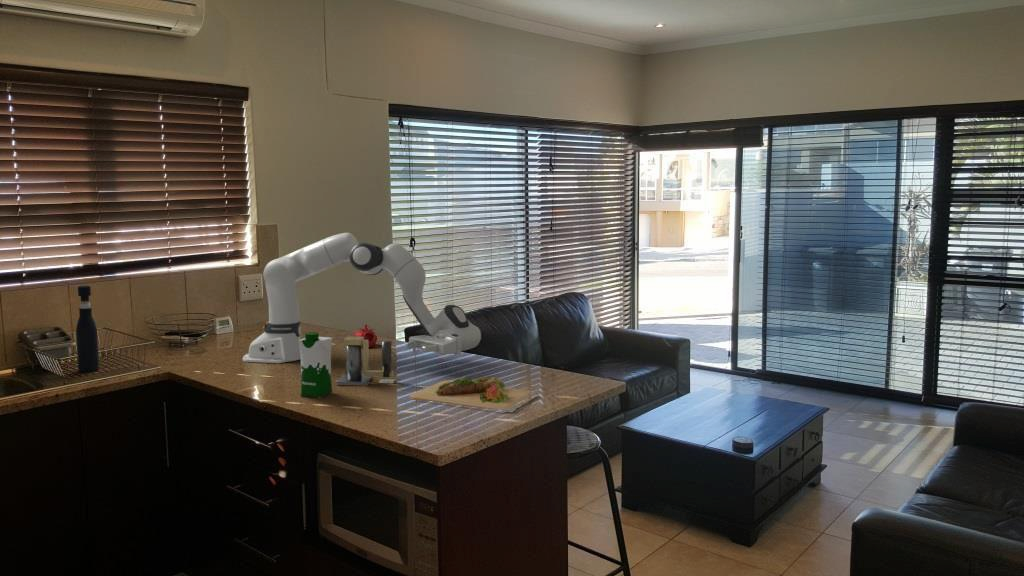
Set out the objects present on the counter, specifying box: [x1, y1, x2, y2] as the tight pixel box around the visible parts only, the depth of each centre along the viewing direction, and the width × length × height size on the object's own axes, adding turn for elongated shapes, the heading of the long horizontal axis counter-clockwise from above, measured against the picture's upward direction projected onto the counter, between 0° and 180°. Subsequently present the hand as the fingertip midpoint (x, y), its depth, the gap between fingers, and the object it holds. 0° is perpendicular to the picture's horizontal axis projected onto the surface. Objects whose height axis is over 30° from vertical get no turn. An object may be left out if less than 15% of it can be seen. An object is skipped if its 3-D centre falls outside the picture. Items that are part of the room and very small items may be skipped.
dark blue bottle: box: [75, 285, 100, 373], centre depth 263 cm, size 6×6×30 cm
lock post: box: [336, 345, 396, 386], centre depth 257 cm, size 18×18×13 cm
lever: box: [343, 336, 394, 378], centre depth 253 cm, size 16×6×13 cm, turn 92°
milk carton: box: [299, 331, 333, 398], centre depth 236 cm, size 9×9×20 cm
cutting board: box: [409, 375, 532, 410], centre depth 236 cm, size 35×23×8 cm
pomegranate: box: [353, 324, 378, 348], centre depth 313 cm, size 10×10×9 cm
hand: (415, 347), depth 262 cm, fingers open, 8 cm apart
